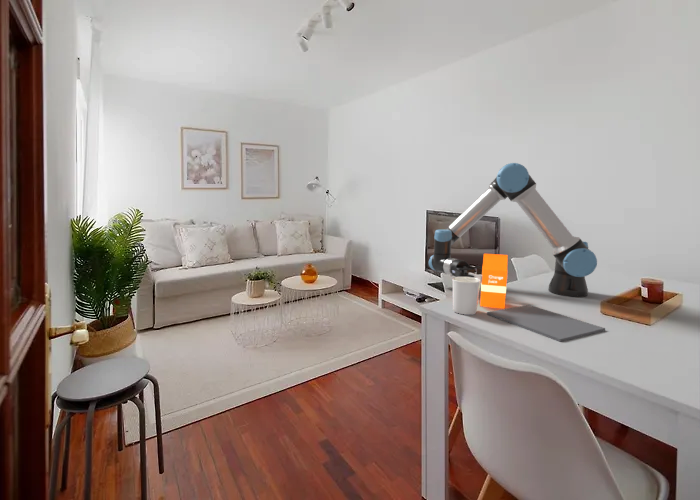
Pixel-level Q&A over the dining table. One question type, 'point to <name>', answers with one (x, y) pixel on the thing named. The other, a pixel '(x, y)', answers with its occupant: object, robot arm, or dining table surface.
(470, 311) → the white cup
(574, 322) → the mat
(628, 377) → the dining table surface
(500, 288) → the orange juice
